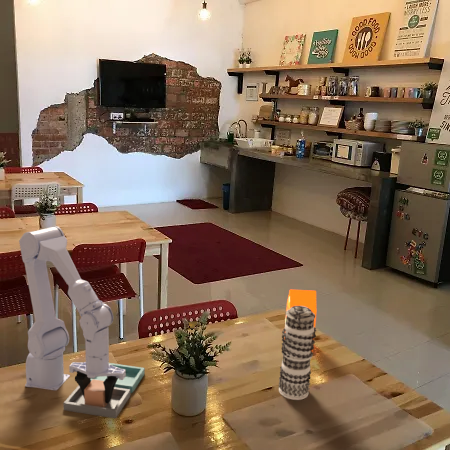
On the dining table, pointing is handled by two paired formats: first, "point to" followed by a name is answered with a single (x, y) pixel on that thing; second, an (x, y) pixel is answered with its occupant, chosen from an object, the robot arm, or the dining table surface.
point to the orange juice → (302, 300)
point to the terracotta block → (95, 394)
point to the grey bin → (110, 410)
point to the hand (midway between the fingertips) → (97, 399)
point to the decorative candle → (297, 352)
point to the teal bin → (126, 377)
